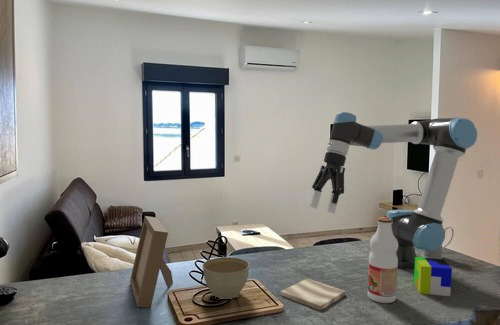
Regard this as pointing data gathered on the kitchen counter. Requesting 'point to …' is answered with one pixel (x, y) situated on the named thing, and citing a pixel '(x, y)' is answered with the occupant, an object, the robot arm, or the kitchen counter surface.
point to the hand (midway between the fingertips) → (321, 210)
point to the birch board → (313, 294)
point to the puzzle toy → (432, 276)
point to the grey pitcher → (437, 252)
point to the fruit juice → (383, 263)
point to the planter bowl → (226, 276)
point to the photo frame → (149, 262)
